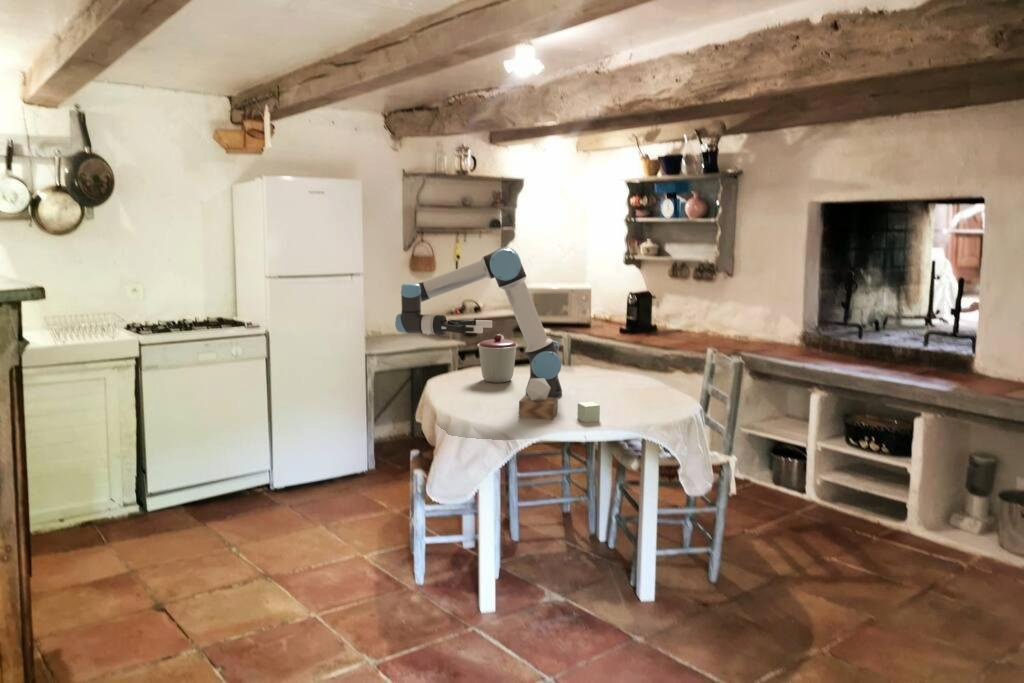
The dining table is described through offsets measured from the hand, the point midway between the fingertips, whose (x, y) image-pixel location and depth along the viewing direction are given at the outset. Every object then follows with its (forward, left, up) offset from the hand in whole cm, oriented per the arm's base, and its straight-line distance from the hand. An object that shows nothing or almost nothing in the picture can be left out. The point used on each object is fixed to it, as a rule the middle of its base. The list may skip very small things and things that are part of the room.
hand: (487, 326), depth 304 cm
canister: (-14, -46, -32) cm, 58 cm away
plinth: (-17, +14, -32) cm, 39 cm away
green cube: (-33, +25, -32) cm, 52 cm away
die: (-16, +15, -26) cm, 34 cm away
